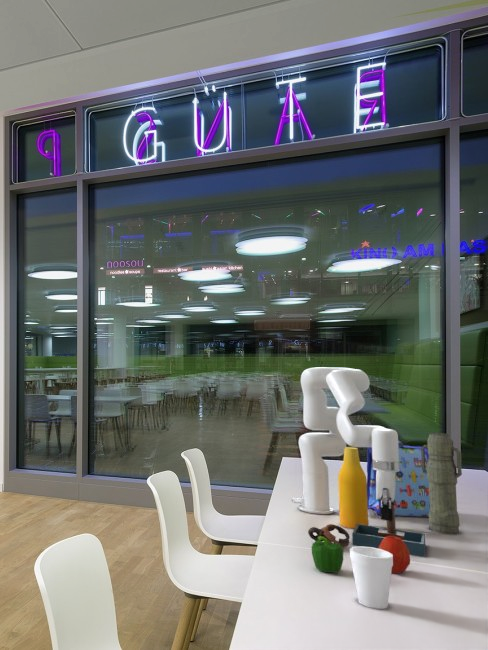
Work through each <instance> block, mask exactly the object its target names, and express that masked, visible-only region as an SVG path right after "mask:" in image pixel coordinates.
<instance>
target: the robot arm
mask: <svg viewBox="0 0 488 650" xmlns="http://www.w3.org/2000/svg"><path fill="white" fill-rule="evenodd" d="M370 381H371V380H370V378H369V376H368V374H367V373H366V372H364V371H363V370H362V369H357V368H356V369H355V368H350V367H327V366H326V367H325V366H321V367H320V366H318V367H309V368H306V369H304V370H303V372H302V373H301V375H300V387H301V390H302V394H303V404H302V405H303V408H302V411H303V414H302V415H303V417H302V418H303V419H302V420H303V425H304V427H305V428H306V429H308V430H312V431H329V432H306V433H304V434H301V435H300V436H299V438H298V448H299V451H300V452H299V453H300V457H301V459H300V460H301V471H302V472H301V473H302V475H301V477H302V478H301V479H302V497H299V498H298V497H294V496H293V497H291V502H292V503H293V504H299V506H298V507H299V508H298V509H299V510H300V511H302V512H305V513H309V514H315V515H331V514H334V513H335V509H334V507H331V505H330V479H329V477H330V476H329V467H328V465H327V463H326V462H325V459H323V457H341V456H344V449H345V447H347V445H348V446H349V447H354V448H368V447H372V460H373V469H374V470H376V499H377V500H379V499H381V507H380V509H381V515H380V519H381V521H386V522H387V521H392V520H393V519H392V509H391V505H394V503H393V501H394V498H395V472H399V450H398V441H399V434H398V432H397V431H396V430H395V429H392V428H386V427H385V426H381V425H359V424H358V425H356V424H355V425H354V424H353V423H352V421H351V420H350V417H349V416H350V415H352V414H355V413H356V412H359V411H360V410H362V409H363V407H364V406H365V405H366V400H365V398H364V396H363V395H362V393H361V392H367V390H369V388H370V384H371V382H370ZM324 389H329V390H330V392H331V393H332V395H333V398H334V399H335V401H336V402H337V405H338V406H339V407H337V406H328V397H327V394H326V392H325V391H324Z"/></svg>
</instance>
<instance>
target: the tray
mask: <svg viewBox="0 0 488 650" xmlns="http://www.w3.org/2000/svg"><path fill="white" fill-rule="evenodd" d="M379 529H385V530H387V527H380V526H374V525H361V524H357V525H356V527H355V529H353V531H352V546H355V547H358V546H364V547H373V548H377V549H378V548H379V546H380V544H381V542H382V540H383V539H384V538H385V537H379V536H378V531H379ZM396 531H398V532H405V540H403V542H404V543H405V544H406V546H407V548H408V550H409V553H410V556H416V557H421V558H425V556H426V547H427V546H426V545H427V544H426V533H421V532H414V531H409V530H402V529H396Z"/></svg>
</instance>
